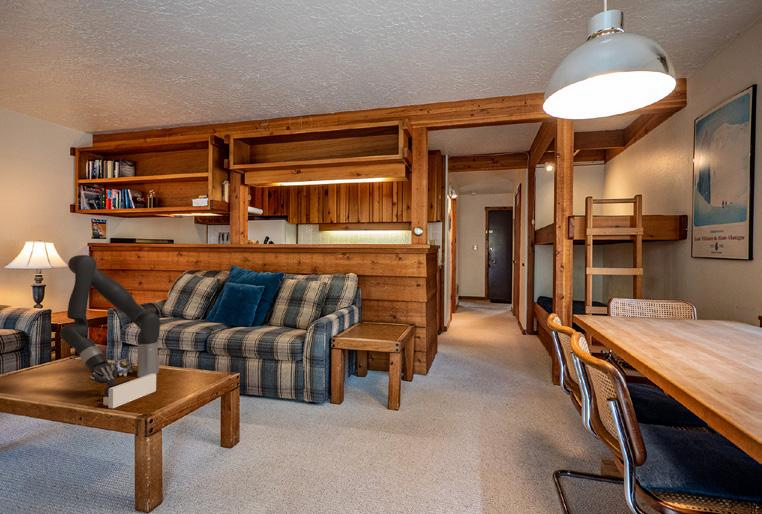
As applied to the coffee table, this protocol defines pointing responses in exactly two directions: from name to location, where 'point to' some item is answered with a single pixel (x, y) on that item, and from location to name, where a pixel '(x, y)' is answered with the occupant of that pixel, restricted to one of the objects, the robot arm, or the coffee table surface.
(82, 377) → the coffee table surface
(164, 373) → the coffee table surface
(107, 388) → the end cap
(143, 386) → the white board with feet
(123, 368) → the passion flower
